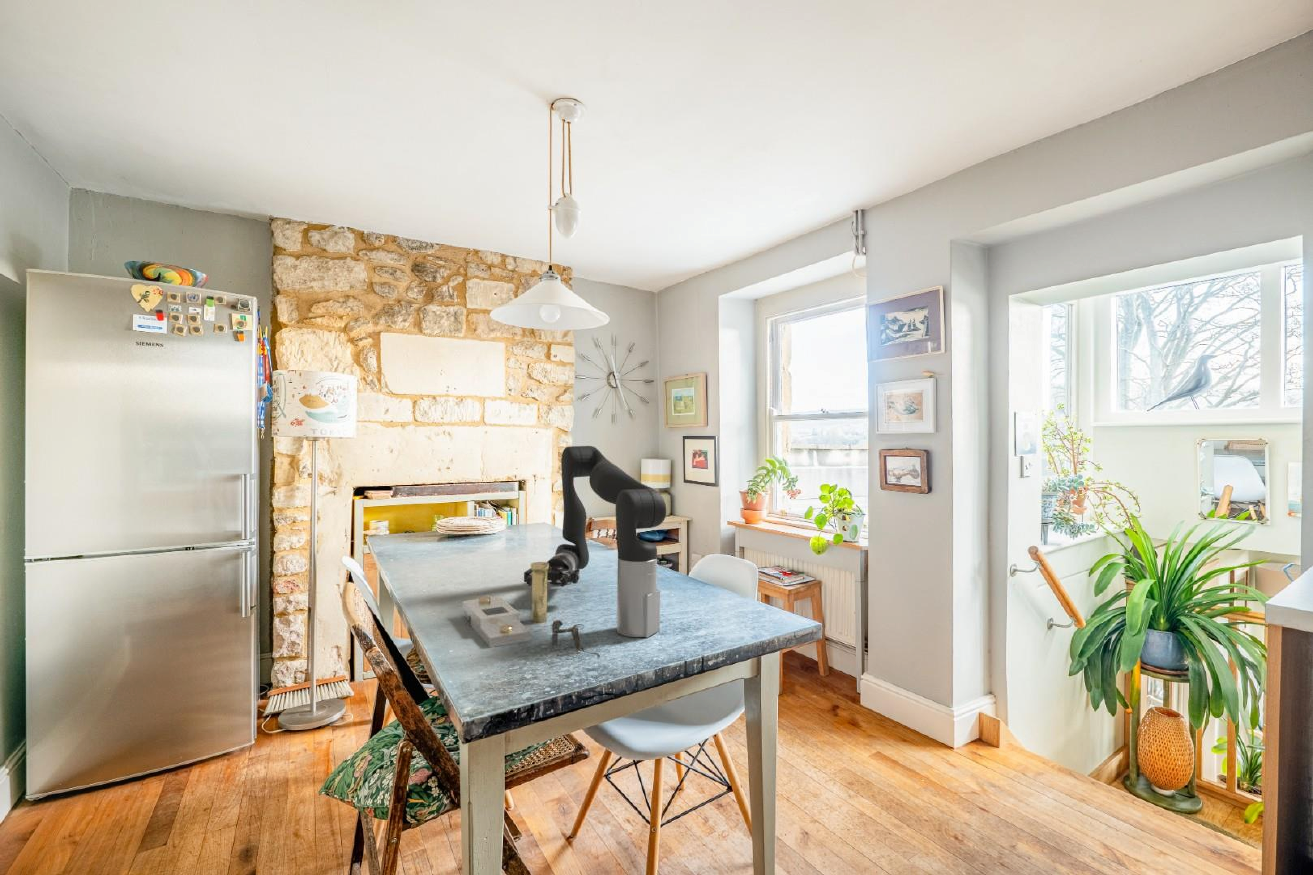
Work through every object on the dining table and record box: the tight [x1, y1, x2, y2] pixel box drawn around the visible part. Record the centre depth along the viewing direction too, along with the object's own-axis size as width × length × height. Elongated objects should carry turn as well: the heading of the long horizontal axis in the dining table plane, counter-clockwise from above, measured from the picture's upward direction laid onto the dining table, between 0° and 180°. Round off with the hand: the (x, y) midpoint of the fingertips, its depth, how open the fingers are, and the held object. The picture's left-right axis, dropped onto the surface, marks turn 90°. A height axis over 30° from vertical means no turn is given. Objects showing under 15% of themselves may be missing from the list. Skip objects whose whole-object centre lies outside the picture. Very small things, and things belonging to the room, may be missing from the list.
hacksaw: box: [551, 619, 601, 659], centre depth 130 cm, size 24×10×2 cm, turn 8°
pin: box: [530, 561, 549, 624], centre depth 143 cm, size 4×4×14 cm
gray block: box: [462, 595, 531, 648], centre depth 137 cm, size 24×9×5 cm, turn 32°
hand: (545, 582), depth 148 cm, fingers open, 8 cm apart
